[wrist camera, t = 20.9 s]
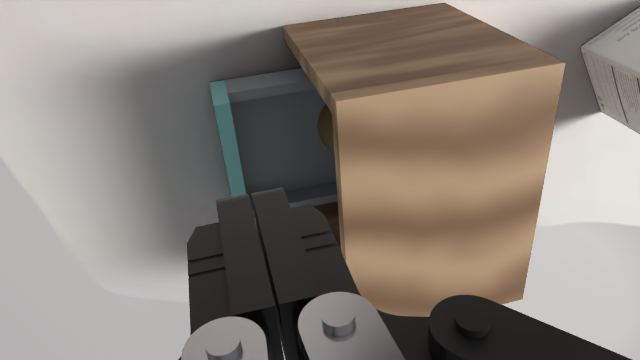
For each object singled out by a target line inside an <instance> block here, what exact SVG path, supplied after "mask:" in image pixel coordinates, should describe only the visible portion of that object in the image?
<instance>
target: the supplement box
mask: <svg viewBox="0 0 640 360" xmlns="http://www.w3.org/2000/svg"><path fill="white" fill-rule="evenodd" d="M581 51H582V55H583V58H584V61H585V64H586V67H587V70H588V73H589V76H590V79H591V82H592V85H593V88H594V91H595V94H596V98H597V101H598V104H599V107H600V110H601V112H602V113H604V114H606V115H608V116H610V117H611V118H613V119H615V120H617V121H618V122H620V123H622V124H623V125H625V126H627V127H628V128H630V129H632V130H634V131H635V132H637V133H639V134H640V7H639V8H637V9H636V10H634V11H633V12H631V13H630V14H628V15H627V16H625V17H624V18H622V19H621V20H619V21H618V22H616V23H615V24H613V25H612V26H611V27H609V28H608V29H606V30H605V31H603V32H602V33H600V34H599V35H597V36H596V37H594V38H593V39H591V40H590V41H588V42H587V43H585V44H584V45H583V46H581Z"/></svg>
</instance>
